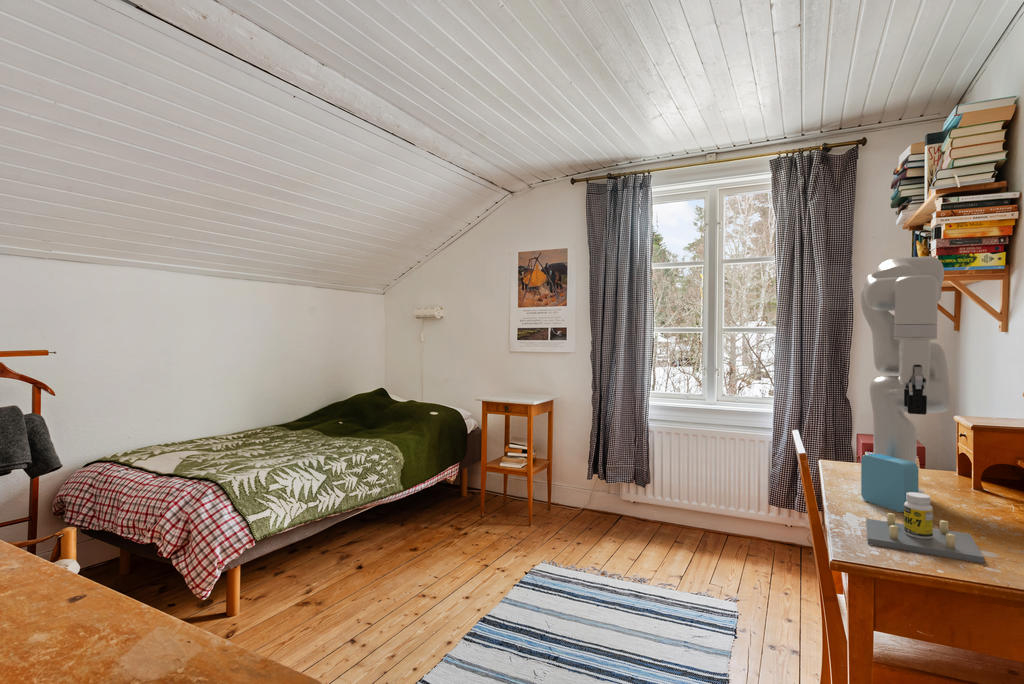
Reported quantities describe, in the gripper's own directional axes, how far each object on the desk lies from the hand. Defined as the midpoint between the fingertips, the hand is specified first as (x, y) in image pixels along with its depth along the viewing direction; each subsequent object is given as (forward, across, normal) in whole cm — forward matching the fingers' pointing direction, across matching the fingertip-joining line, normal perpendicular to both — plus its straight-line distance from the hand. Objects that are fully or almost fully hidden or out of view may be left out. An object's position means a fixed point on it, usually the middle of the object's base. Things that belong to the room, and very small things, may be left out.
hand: (914, 410), depth 118 cm
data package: (+27, -15, -4) cm, 31 cm away
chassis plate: (+26, +10, 0) cm, 28 cm away
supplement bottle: (+25, +10, 0) cm, 27 cm away
